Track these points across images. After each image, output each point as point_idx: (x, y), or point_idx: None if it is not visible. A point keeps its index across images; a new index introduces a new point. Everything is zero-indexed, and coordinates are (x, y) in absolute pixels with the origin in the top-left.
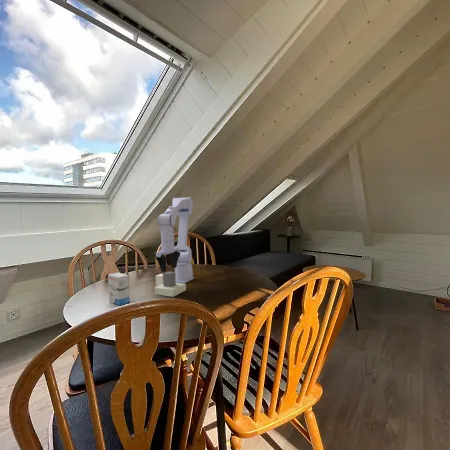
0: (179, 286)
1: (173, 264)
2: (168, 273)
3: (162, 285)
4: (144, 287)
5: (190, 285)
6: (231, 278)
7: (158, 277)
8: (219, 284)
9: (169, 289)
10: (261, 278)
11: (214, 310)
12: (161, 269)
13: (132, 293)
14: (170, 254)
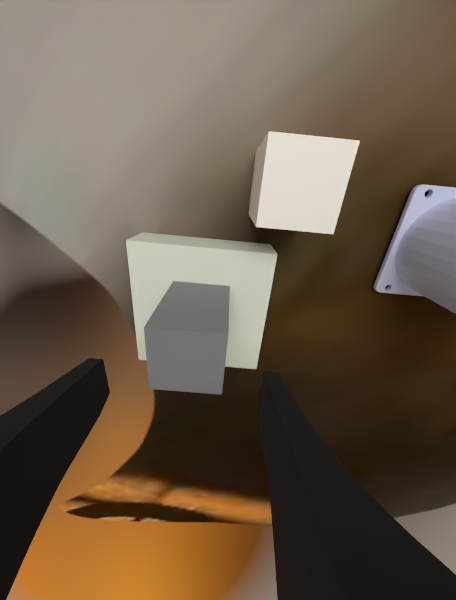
0: None
1: (267, 420)
2: (161, 370)
3: (185, 265)
4: (239, 24)
5: (332, 334)
6: (451, 439)
7: (261, 176)
8: (356, 427)
9: (138, 342)
10: (436, 503)
11: (112, 474)
12: (72, 377)
13: (74, 37)
14: (321, 596)
